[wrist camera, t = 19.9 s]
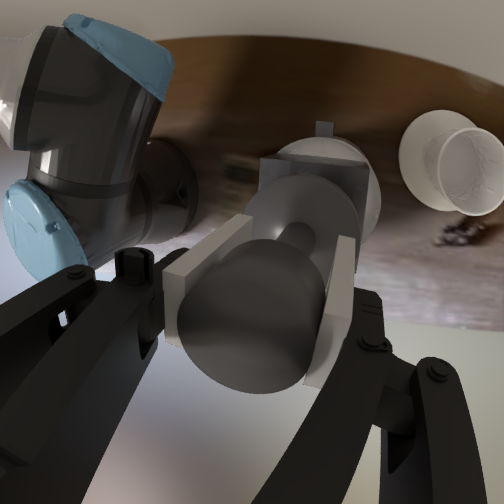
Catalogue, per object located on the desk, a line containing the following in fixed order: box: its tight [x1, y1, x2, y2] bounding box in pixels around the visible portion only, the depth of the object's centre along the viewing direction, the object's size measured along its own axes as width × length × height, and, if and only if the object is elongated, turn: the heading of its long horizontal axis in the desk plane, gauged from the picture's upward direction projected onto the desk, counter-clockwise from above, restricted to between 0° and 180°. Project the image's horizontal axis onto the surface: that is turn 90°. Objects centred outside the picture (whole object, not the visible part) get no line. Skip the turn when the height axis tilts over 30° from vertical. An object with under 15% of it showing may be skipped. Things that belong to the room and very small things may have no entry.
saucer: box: [398, 110, 477, 211], centre depth 32 cm, size 12×12×1 cm
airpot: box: [258, 121, 381, 273], centre depth 29 cm, size 13×10×19 cm
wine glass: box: [177, 173, 360, 394], centre depth 16 cm, size 6×6×16 cm
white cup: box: [421, 127, 504, 216], centre depth 27 cm, size 8×8×10 cm
